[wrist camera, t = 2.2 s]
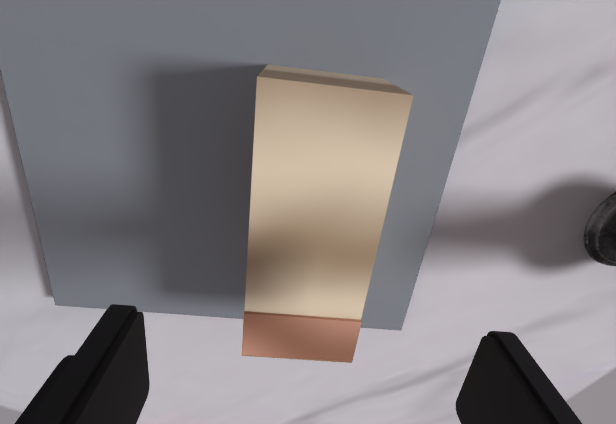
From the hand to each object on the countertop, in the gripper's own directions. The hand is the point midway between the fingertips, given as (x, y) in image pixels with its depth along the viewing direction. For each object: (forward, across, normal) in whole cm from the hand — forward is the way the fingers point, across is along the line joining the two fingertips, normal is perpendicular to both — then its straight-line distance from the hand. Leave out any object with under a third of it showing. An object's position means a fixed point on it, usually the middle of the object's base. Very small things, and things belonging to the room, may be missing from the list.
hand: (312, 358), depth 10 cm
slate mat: (+10, +3, -4) cm, 11 cm away
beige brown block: (+9, 0, -1) cm, 9 cm away
